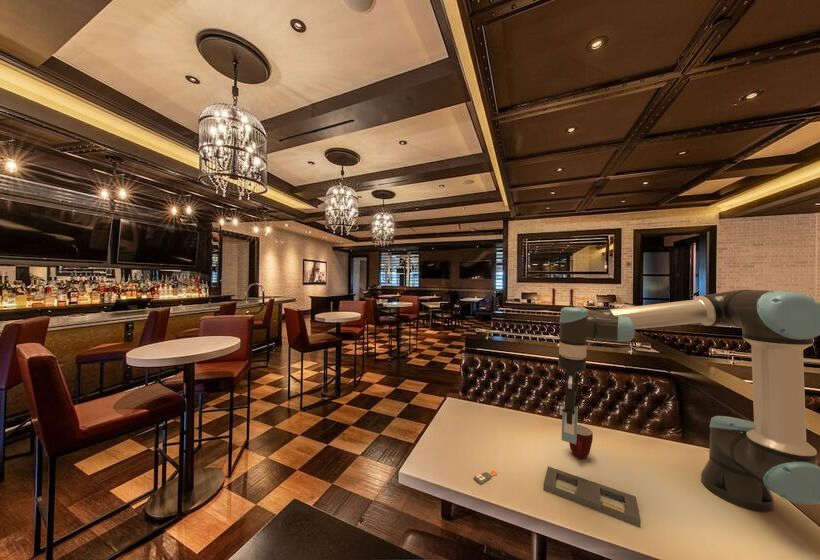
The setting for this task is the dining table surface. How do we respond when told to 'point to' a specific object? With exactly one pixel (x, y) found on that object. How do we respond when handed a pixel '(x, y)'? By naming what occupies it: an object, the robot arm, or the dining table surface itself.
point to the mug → (582, 442)
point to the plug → (570, 437)
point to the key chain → (484, 477)
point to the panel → (593, 495)
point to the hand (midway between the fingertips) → (569, 429)
